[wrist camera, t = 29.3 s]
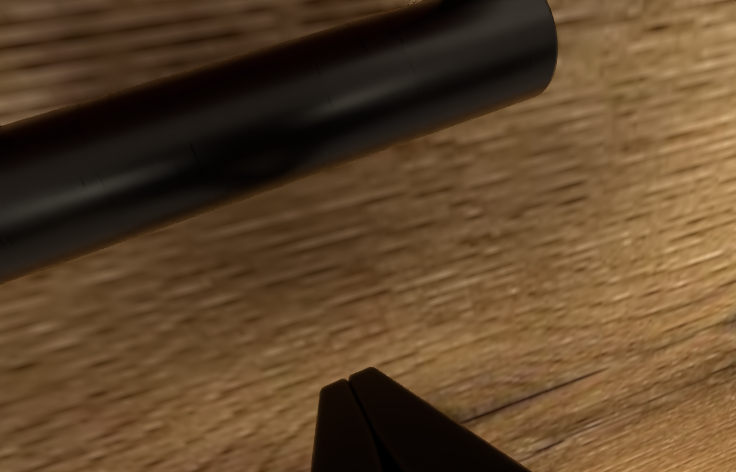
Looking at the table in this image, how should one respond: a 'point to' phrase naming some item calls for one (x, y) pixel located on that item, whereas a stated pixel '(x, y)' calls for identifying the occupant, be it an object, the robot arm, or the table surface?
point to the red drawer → (259, 123)
